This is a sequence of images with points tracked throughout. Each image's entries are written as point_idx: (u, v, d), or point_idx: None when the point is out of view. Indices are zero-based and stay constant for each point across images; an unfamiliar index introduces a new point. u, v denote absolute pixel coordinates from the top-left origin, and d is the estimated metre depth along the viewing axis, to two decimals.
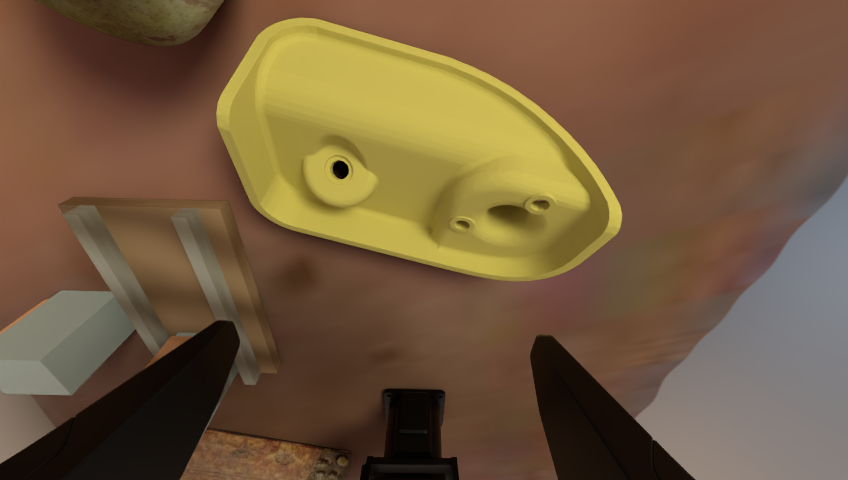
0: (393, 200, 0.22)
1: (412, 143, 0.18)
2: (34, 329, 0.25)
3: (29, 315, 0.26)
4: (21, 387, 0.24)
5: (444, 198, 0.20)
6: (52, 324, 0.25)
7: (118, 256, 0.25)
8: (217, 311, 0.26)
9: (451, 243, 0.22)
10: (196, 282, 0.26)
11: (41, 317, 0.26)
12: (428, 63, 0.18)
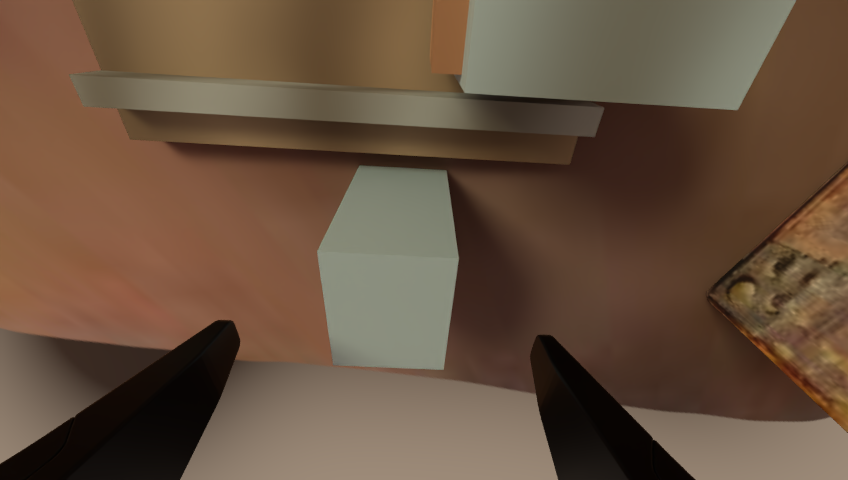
0: None
1: None
2: None
3: None
4: (424, 335, 0.11)
5: None
6: None
7: (208, 79, 0.12)
8: None
9: None
10: None
11: None
12: None
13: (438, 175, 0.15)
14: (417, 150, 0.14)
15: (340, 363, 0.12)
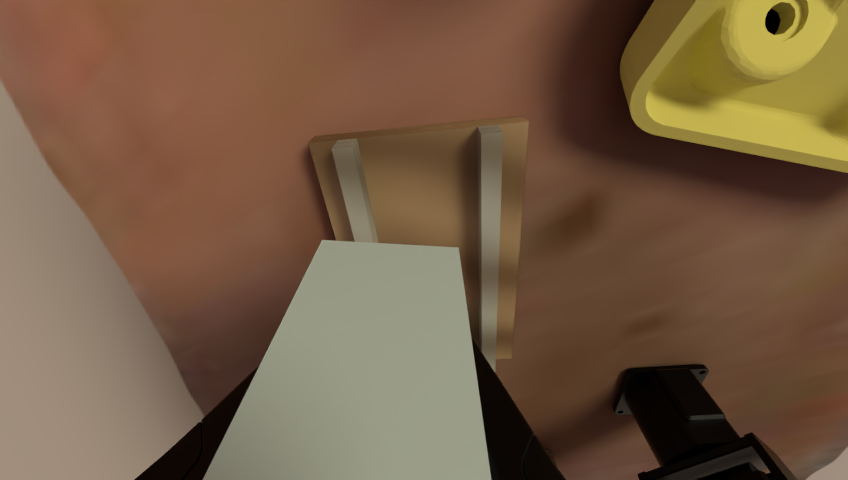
0: (813, 75, 0.15)
1: None
2: None
3: None
4: None
5: None
6: None
7: (370, 212, 0.18)
8: (488, 276, 0.20)
9: None
10: (455, 241, 0.20)
11: None
12: None
13: (446, 261, 0.09)
14: None
15: None
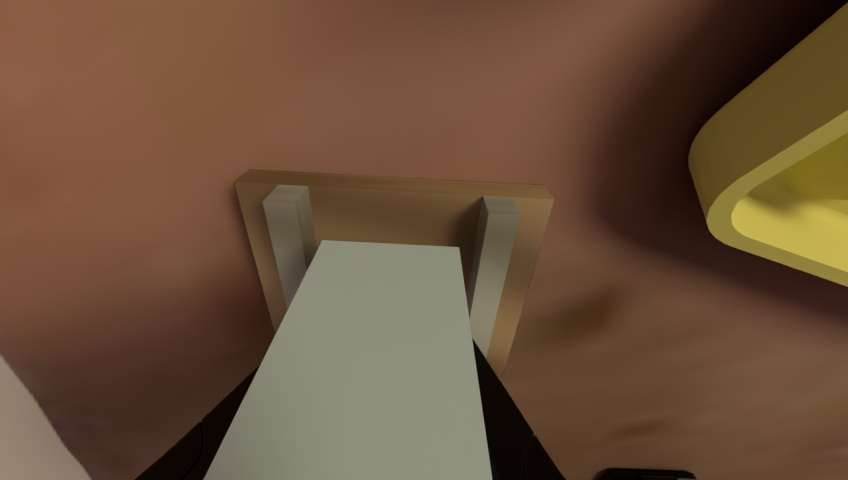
0: None
1: None
2: None
3: None
4: None
5: None
6: None
7: None
8: None
9: None
10: None
11: None
12: None
13: (447, 261, 0.09)
14: None
15: None
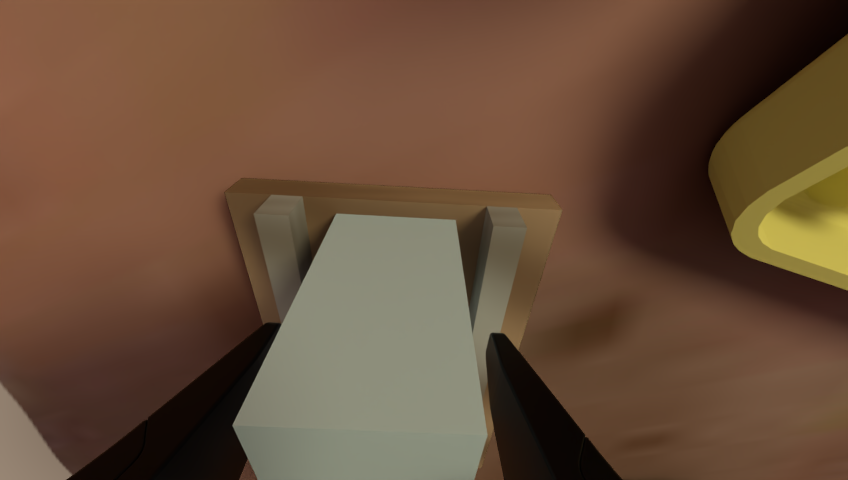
0: None
1: None
2: None
3: None
4: None
5: None
6: None
7: None
8: None
9: None
10: None
11: None
12: None
13: (445, 230, 0.11)
14: None
15: None
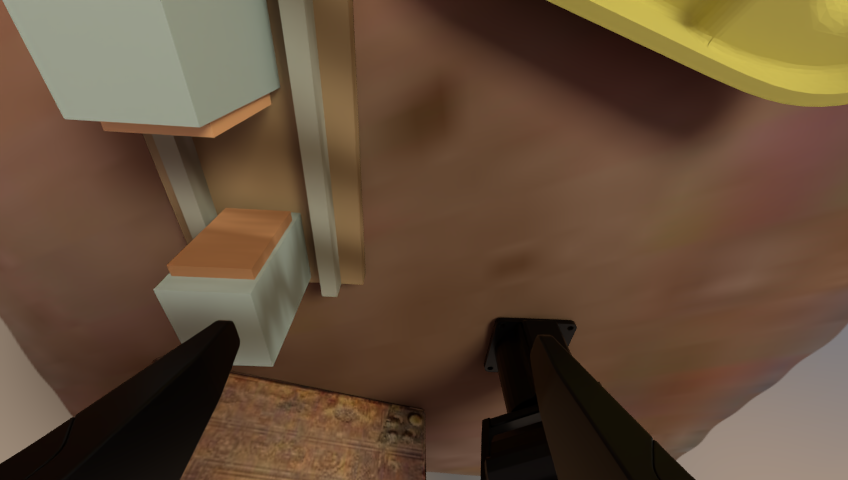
0: None
1: None
2: None
3: None
4: (151, 61, 0.09)
5: None
6: None
7: None
8: (309, 156, 0.17)
9: (743, 30, 0.14)
10: (276, 109, 0.17)
11: None
12: None
13: None
14: (170, 193, 0.19)
15: (70, 114, 0.10)
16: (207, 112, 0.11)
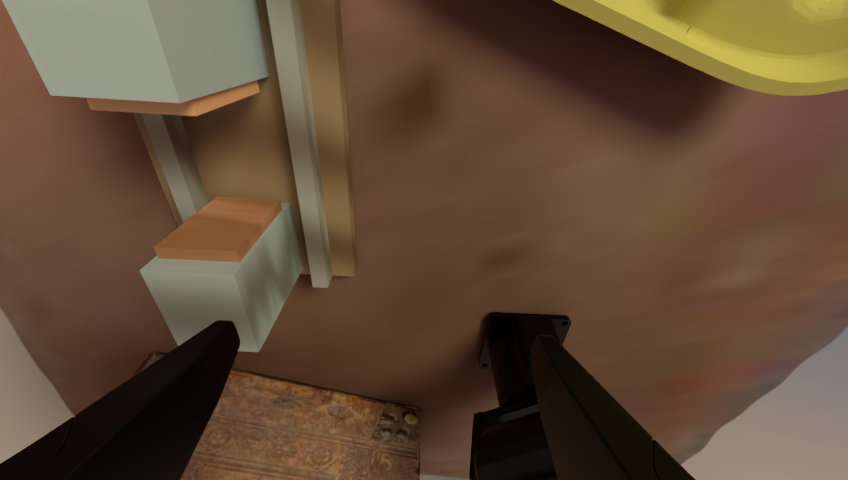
0: None
1: None
2: None
3: None
4: (131, 36, 0.10)
5: None
6: None
7: None
8: (297, 143, 0.17)
9: (719, 19, 0.14)
10: (265, 98, 0.17)
11: None
12: None
13: None
14: (164, 182, 0.20)
15: (56, 91, 0.10)
16: (188, 89, 0.11)
